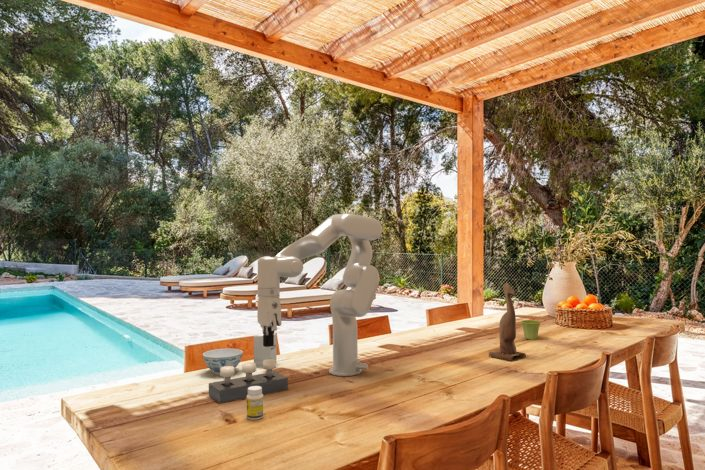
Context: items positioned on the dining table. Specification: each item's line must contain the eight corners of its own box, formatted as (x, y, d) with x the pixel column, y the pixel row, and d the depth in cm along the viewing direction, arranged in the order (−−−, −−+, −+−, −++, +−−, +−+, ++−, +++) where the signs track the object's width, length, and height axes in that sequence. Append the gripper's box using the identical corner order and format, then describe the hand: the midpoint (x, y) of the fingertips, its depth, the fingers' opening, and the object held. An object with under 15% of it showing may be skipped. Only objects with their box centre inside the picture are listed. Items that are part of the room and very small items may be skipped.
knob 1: (231, 382, 161) (231, 365, 161) (236, 385, 158) (236, 368, 158) (218, 384, 159) (218, 367, 159) (223, 387, 155) (223, 370, 155)
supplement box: (270, 368, 194) (270, 336, 194) (253, 367, 196) (253, 335, 196) (277, 363, 201) (276, 332, 202) (260, 362, 203) (260, 332, 203)
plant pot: (543, 340, 242) (543, 323, 242) (524, 340, 242) (524, 323, 242) (536, 336, 251) (536, 320, 252) (518, 336, 252) (518, 320, 252)
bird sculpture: (512, 363, 200) (514, 285, 200) (487, 357, 208) (489, 282, 208) (526, 358, 207) (528, 283, 207) (502, 353, 216) (503, 281, 216)
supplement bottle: (247, 414, 142) (247, 385, 142) (264, 413, 142) (264, 385, 142) (245, 420, 137) (245, 390, 137) (262, 419, 137) (262, 390, 137)
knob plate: (274, 382, 174) (274, 371, 174) (288, 389, 165) (287, 377, 165) (208, 395, 160) (208, 383, 160) (219, 403, 152) (219, 390, 152)
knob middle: (252, 378, 166) (252, 361, 166) (257, 381, 162) (257, 364, 162) (240, 380, 163) (240, 363, 163) (245, 383, 160) (245, 366, 160)
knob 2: (272, 374, 170) (272, 358, 170) (278, 377, 166) (278, 361, 167) (260, 376, 167) (260, 360, 168) (266, 379, 164) (266, 363, 164)
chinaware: (230, 365, 198) (230, 346, 198) (250, 372, 188) (250, 352, 188) (195, 372, 188) (195, 352, 188) (215, 380, 177) (214, 359, 177)
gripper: (288, 293, 163) (288, 348, 163) (269, 290, 176) (268, 341, 175) (268, 295, 159) (267, 351, 159) (249, 291, 171) (249, 343, 171)
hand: (268, 346), depth 167 cm, fingers closed
